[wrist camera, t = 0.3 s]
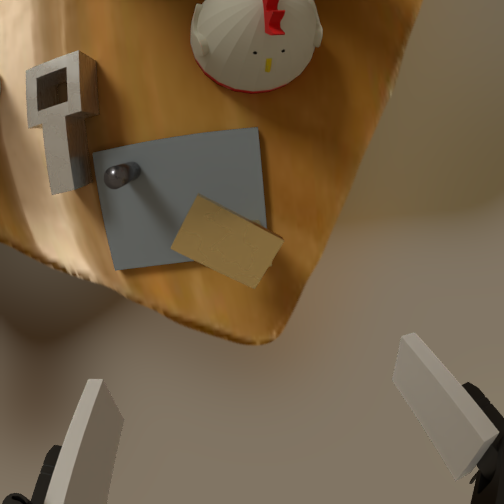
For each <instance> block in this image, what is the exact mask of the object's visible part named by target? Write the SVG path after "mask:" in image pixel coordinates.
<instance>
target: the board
mask: <svg viewBox="0 0 504 504" xmlns="http://www.w3.org/2000/svg"><path fill="white" fill-rule="evenodd" d="M93 161H94V168H95V174H96V181H97V187H98V193H99V198H100V204H101V209H102V214H103V219H104V224H105V229H106V234H107V238H108V243H109V247H110V251H111V256H112V260H113V264H114V268H115V270H123V269H131V268H139V267H147V266H155V265H163V264H171V263H180V262H188V261H194V260H192V259H190V258H188V257H186V256H184V255H182V254H180V253H178V252H176V251H174V250H172V249H170V248H171V246H172V243H173V241H174V239H175V237H176V235H177V233H178V231H179V229H180V227H181V225H182V223H183V221H184V219H185V217H186V215H187V214H188V212H189V210H190V208H191V206H192V204H193V202H194V200H195V198H196V196H197V194H198V193H199V194H201V195H203V196H205V197H207V198H209V199H211V200H213V201H215V202H217V203H219V204H221V205H223V206H225V207H227V208H228V209H230V210H232V211H234V212H236V213H238V214H240V215H242V216H244V217H246V218H247V219H249V220H259V221H260V223H261V225H262V226H263V227H264V228H266V229H267V224H266V212H265V201H264V189H263V178H262V166H261V155H260V144H259V134H258V127H254V128H243V129H233V130H223V131H215V132H206V133H199V134H191V135H184V136H178V137H171V138H165V139H159V140H153V141H148V142H142V143H137V144H132V145H127V146H122V147H117V148H112V149H108V150H103V151H99V152H95V153H93ZM131 161H132V162H136V163H137V164H138V165H139V166H140V168H141V174H140V176H139V177H138V178H137V179H136V180H134V181H132V182H130V183H128V184H126V185H124V186H122V187H120V188H118V189H110V188H108V187H107V186H106V184H105V182H104V174H105V171H106V170H107V169H108V168H110V167H112V166H116V165H119V164H123V163H127V162H131Z"/></svg>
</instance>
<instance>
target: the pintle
mask: <svg viewBox="0 0 504 504" xmlns="http://www.w3.org/2000/svg"><path fill="white" fill-rule="evenodd" d="M140 174H141V168H140V166H139V165H138V164H137V163H136V162H132V161H131V162H127V163H123V164H119V165H116V166H112V167H110V168H108V169H107V170H106V171H105V174H104V182H105V184H106V186H107V187H108V188H110V189H118V188H120V187H122V186H124V185H126V184H128V183H130V182H132V181H134V180H136V179H137V178H138V177H139V176H140Z"/></svg>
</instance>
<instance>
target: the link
mask: <svg viewBox="0 0 504 504" xmlns="http://www.w3.org/2000/svg"><path fill="white" fill-rule="evenodd" d="M66 81H67V92H68V101H67V102H64V103H61V104H59V97H58V84H60V83H63V82H66ZM26 100H27V118H28V128H43V137H44V146H45V154H46V162H47V169H48V175H49V181H50V187H51V193H52V195H54V194H59V193H63V192H67V191H71V190H75V189H78V188H80V187H83V186H85V185H88V184H90V183H93V179H92V173H91V166H90V159H89V152H88V144H87V135H86V125H85V118H88V117H91V116H95V115H99V114H100V113H99V101H98V86H97V66H96V60H94V59H92V58H91V57H89V56H87V55H86V54H84V53H82V52H81V51H79V50H78V51H75V52H72V53H69V54H66V55H64V56H61V57H58V58H55V59H53V60H50V61H48V62H45V63H43V64H40V65H38V66H35V67H33V68H31V69H28V70H26Z"/></svg>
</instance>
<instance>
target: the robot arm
mask: <svg viewBox="0 0 504 504" xmlns="http://www.w3.org/2000/svg"><path fill="white" fill-rule="evenodd" d="M392 381H393V382H394V384H395V385H396V387H397V388H398V390H399V392H400V393H401V395H402V396H403V397H404V399H405V401H406V402H407V404H408V405H409V407H410V408H411V410H412V412H413V413H414V415H415V416H416V418H417V419H418V421H419V423H420V424H421V426H422V427H423V429H424V430H425V432H426V434H427V435H428V437H429V438H430V440H431V442H432V443H433V445H434V446H435V448H436V450H437V451H438V453H439V454H440V456H441V458H442V460H443V461H444V463H445V465H446V466H447V468H448V469H449V471H450V473H451V474H452V476H453V478H454V480H455V481H457V480H458V479H460V478H462V477H464V476H466V475H467V474H469V473H471V471H472V470H473V469H474V467H475V466H476V465H477V467H478V468H479V470H478V472H477V473H476V474H475V475H474V476H473V478H472V479H471V481H470V484H472V483H473V482H474V480H475V479H476V481H475V486H474V491H473V495H472V500H471V504H504V418H503V416H502V415H501V414H500V413H499V412H498V410H497V409H496V408H495V407H494V406H493V405H492V404H490V401H489V400H488V399H487V398H485V395H484V394H483V393H482V392H481V391H480V389H479V388H477V387H476V386H474V385H473V384H471V383H469V382H467V383H465V384H463V385H461V384H460V383H459V382H458V381H457V379H456V378H455V377H454V376H453V375H452V374H451V372H450V371H449V370H448V369H447V368H446V367H445V365H443V363H442V362H441V361H440V360H439V359H438V357H437V356H436V355H435V354H434V353H433V352H432V351H431V350H430V348H429V347H428V346H427V345H426V344H425V343H424V342H423V341H422V340H421V339H420V337H419V336H418V335H417V334H416V333H415V332H414V333H410V334H407V335H404V336H401V339H400V344H399V350H398V355H397V360H396V364H395V369H394V374H393V378H392ZM123 422H124V418H123V417H122V415H121V413H120V411H119V409H118V407H117V405H116V404H115V402H114V400H113V398H112V396H111V394H110V393H109V390H108V388H107V386H106V384H105V382H104V380H103V379H88V381H87V384H86V386H85V388H84V391H83V393H82V396H81V398H80V401H79V403H78V406H77V408H76V411H75V413H74V416H73V418H72V421H71V424H70V426H69V429H68V432H67V434H66V437H65V440H64V443H63V445H62V446H58V445H54V446H53V447H52V448H51V449H50V450H49V452H48V453H47V455H46V457H45V460H44V463H43V464H44V465H43V466H42V469H41V474H39V477H38V480H37V483H36V486H35V489H34V492H33V495H32V499H31V501H29V500H28V499H27V498H26V497H25V496H23V495H22V494H19V493H13V494H10V495H8V496H7V497H6V498H5V499H4V501H3V503H2V504H107V499H108V494H109V488H110V483H111V478H112V473H113V468H114V463H115V458H116V453H117V449H118V444H119V440H120V436H121V431H122V427H123Z"/></svg>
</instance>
